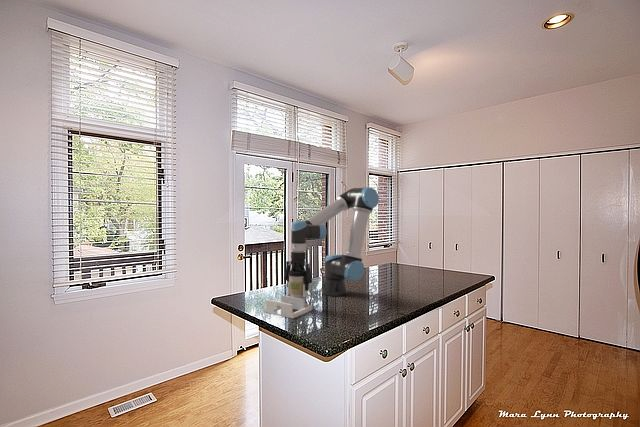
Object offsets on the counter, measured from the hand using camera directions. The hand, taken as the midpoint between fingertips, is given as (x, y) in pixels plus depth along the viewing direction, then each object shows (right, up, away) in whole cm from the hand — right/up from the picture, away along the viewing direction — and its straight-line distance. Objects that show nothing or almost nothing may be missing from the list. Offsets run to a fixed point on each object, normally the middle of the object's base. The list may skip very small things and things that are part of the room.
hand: (297, 295), depth 174 cm
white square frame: (-4, -6, -6) cm, 9 cm away
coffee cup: (0, -3, 0) cm, 3 cm away
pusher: (-6, -6, -9) cm, 13 cm away
